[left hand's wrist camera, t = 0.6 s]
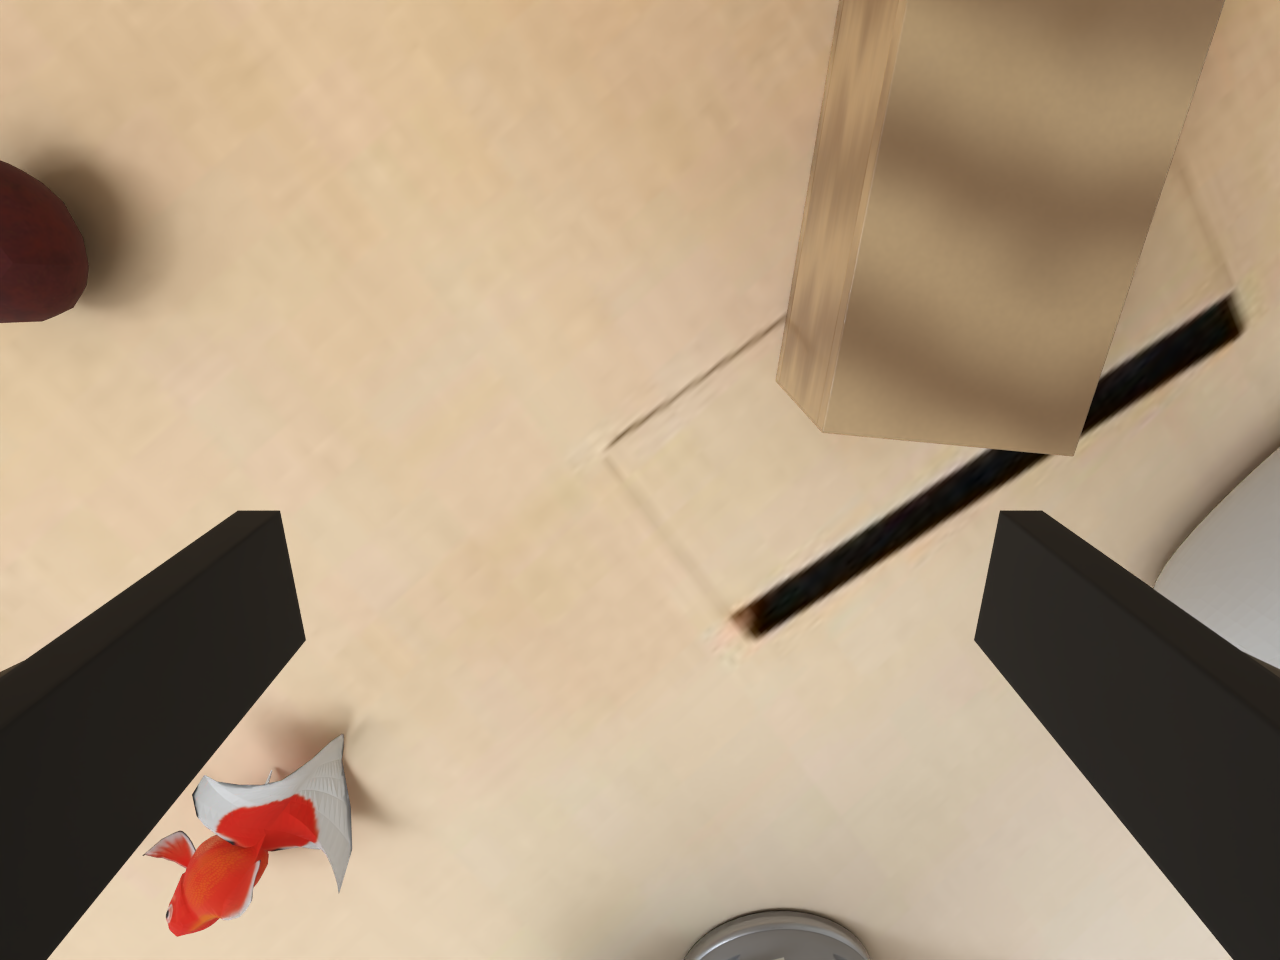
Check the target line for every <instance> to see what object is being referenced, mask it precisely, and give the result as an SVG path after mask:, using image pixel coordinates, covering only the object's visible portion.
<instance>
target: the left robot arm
mask: <svg viewBox="0 0 1280 960" xmlns="http://www.w3.org/2000/svg"><path fill="white" fill-rule="evenodd" d="M305 640H306V639H305V634H304V629H303V624H302V619H301V614H300V609H299V604H298V599H297V594H296V589H295V584H294V579H293V574H292V569H291V564H290V559H289V554H288V549H287V544H286V539H285V534H284V529H283V524H282V519H281V514H280V511H237V512H235V513H234V514H232V515H231V516H230V517H228V518H227V519H225V520H224V521H223V522H221V523H220V524H218V525H217V526H215V527H214V528H213V529H211V530H210V531H208V532H207V533H205V534H204V535H203V536H201V537H200V538H198V539H197V540H195V541H194V542H193V543H191V544H190V545H188V546H187V547H186V548H184V549H183V550H181V551H180V552H178V553H177V554H176V555H174V556H173V557H171V558H170V559H168V560H167V561H166V562H164V563H163V564H161V565H160V566H158V567H157V568H156V569H154V570H153V571H151V572H150V573H149V574H147V575H146V576H144V577H143V578H141V579H140V580H139V581H137V582H136V583H134V584H133V585H131V586H130V587H129V588H127V589H126V590H124V591H123V592H122V593H120V594H119V595H117V596H116V597H114V598H113V599H112V600H110V601H109V602H107V603H106V604H104V605H103V606H102V607H100V608H99V609H97V610H96V611H94V612H93V613H92V614H90V615H89V616H87V617H86V618H85V619H83V620H82V621H80V622H79V623H77V624H76V625H75V626H73V627H72V628H70V629H69V630H67V631H66V632H65V633H63V634H62V635H60V636H59V637H57V638H56V639H55V640H53V641H52V642H50V643H49V644H48V645H46V646H45V647H43V648H42V649H40V650H39V651H38V652H36V653H35V654H33V655H32V656H30V657H29V658H28V659H26V660H25V661H22V662H20V663H18V664H16V665H14V666H12V667H10V668H8V669H6V670H4V671H2V672H0V960H47V959H48V957H49V956H50V955H51V954H52V952H53V951H54V950H55V949H56V948H57V946H58V945H59V944H60V943H61V941H62V940H63V939H64V938H65V936H66V935H67V934H68V933H69V931H70V930H71V929H72V928H73V927H74V925H75V924H76V923H77V922H78V920H79V919H80V918H81V917H82V915H83V914H84V913H85V912H86V911H87V909H88V908H89V907H90V906H91V904H92V903H93V902H94V901H95V899H96V898H97V897H98V896H99V895H100V893H101V892H102V891H103V890H104V888H105V887H106V886H107V885H108V883H109V882H110V881H111V880H112V878H113V877H114V876H115V875H116V874H117V872H118V871H119V870H120V869H121V867H122V866H123V865H124V864H125V862H126V861H127V860H128V859H129V858H130V856H131V855H132V854H133V853H134V851H135V850H136V849H137V848H138V846H139V845H140V844H141V843H142V841H143V840H144V839H145V838H146V837H147V835H148V834H149V833H150V832H151V830H152V829H153V828H154V827H155V825H156V824H157V823H158V822H159V821H160V819H161V818H162V817H163V816H164V814H165V813H166V812H167V811H168V809H169V808H170V807H171V806H172V804H173V803H174V802H175V801H176V800H177V798H178V797H179V796H180V795H181V793H182V792H183V791H184V790H185V788H186V787H187V786H188V785H189V784H190V782H191V781H192V780H193V779H194V777H195V776H196V775H197V774H198V772H199V771H200V770H201V769H202V767H203V766H204V765H205V764H206V763H207V761H208V760H209V759H210V758H211V756H212V755H213V754H214V753H215V751H216V750H217V749H218V748H219V747H220V745H221V744H222V743H223V742H224V740H225V739H226V738H227V737H228V735H229V734H230V733H231V732H232V731H233V729H234V728H235V727H236V726H237V724H238V723H239V722H240V721H241V719H242V718H243V717H244V716H245V714H246V713H247V712H248V711H249V710H250V708H251V707H252V706H253V705H254V703H255V702H256V701H257V700H258V698H259V697H260V696H261V695H262V694H263V692H264V691H265V690H266V689H267V687H268V686H269V685H270V684H271V682H272V681H273V680H274V679H275V677H276V676H277V675H278V674H279V673H280V671H281V670H282V669H283V668H284V666H285V665H286V664H287V663H288V661H289V660H290V659H291V658H292V657H293V655H294V654H295V653H296V652H297V650H298V649H299V648H300V647H301V645H302V644H303V643H304V642H305ZM974 640H975V642H976V643H977V644H978V645H979V647H980V648H981V649H982V650H983V652H984V653H985V654H986V655H987V657H988V658H989V659H990V660H991V661H992V663H993V664H994V665H995V666H996V668H997V669H998V670H999V671H1000V673H1001V674H1002V675H1003V676H1004V677H1005V679H1006V680H1007V681H1008V682H1009V684H1010V685H1011V686H1012V687H1013V689H1014V690H1015V691H1016V692H1017V694H1018V695H1019V696H1020V697H1021V698H1022V700H1023V701H1024V702H1025V703H1026V705H1027V706H1028V707H1029V708H1030V710H1031V711H1032V712H1033V713H1034V714H1035V716H1036V717H1037V718H1038V719H1039V721H1040V722H1041V723H1042V724H1043V726H1044V727H1045V728H1046V729H1047V731H1048V732H1049V733H1050V734H1051V735H1052V737H1053V738H1054V739H1055V740H1056V742H1057V743H1058V744H1059V745H1060V747H1061V748H1062V749H1063V750H1064V751H1065V753H1066V754H1067V755H1068V756H1069V758H1070V759H1071V760H1072V761H1073V763H1074V764H1075V765H1076V766H1077V767H1078V769H1079V770H1080V771H1081V772H1082V774H1083V775H1084V776H1085V777H1086V779H1087V780H1088V781H1089V782H1090V784H1091V785H1092V786H1093V787H1094V788H1095V790H1096V791H1097V792H1098V793H1099V795H1100V796H1101V797H1102V798H1103V800H1104V801H1105V802H1106V803H1107V804H1108V806H1109V807H1110V808H1111V809H1112V811H1113V812H1114V813H1115V814H1116V816H1117V817H1118V818H1119V819H1120V821H1121V822H1122V823H1123V824H1124V825H1125V827H1126V828H1127V829H1128V830H1129V832H1130V833H1131V834H1132V835H1133V837H1134V838H1135V839H1136V840H1137V841H1138V843H1139V844H1140V845H1141V846H1142V848H1143V849H1144V850H1145V851H1146V853H1147V854H1148V855H1149V856H1150V858H1151V859H1152V860H1153V861H1154V862H1155V864H1156V865H1157V866H1158V867H1159V869H1160V870H1161V871H1162V872H1163V874H1164V875H1165V876H1166V877H1167V878H1168V880H1169V881H1170V882H1171V883H1172V885H1173V886H1174V887H1175V888H1176V890H1177V891H1178V892H1179V893H1180V895H1181V896H1182V897H1183V898H1184V899H1185V901H1186V902H1187V903H1188V904H1189V906H1190V907H1191V908H1192V909H1193V911H1194V912H1195V913H1196V914H1197V915H1198V917H1199V918H1200V919H1201V920H1202V922H1203V923H1204V924H1205V925H1206V927H1207V928H1208V929H1209V930H1210V931H1211V933H1212V934H1213V935H1214V936H1215V938H1216V939H1217V940H1218V941H1219V943H1220V944H1221V945H1222V946H1223V948H1224V949H1225V950H1226V951H1227V952H1228V954H1229V955H1230V956H1231V957H1232V959H1233V960H1280V669H1279V668H1277V667H1274V666H1272V665H1270V664H1268V663H1266V662H1264V661H1262V660H1260V659H1258V658H1255V657H1253V656H1251V655H1249V654H1247V653H1245V652H1243V651H1241V650H1240V649H1238V648H1237V647H1235V646H1234V645H1232V644H1231V643H1230V642H1228V641H1227V640H1225V639H1224V638H1223V637H1221V636H1220V635H1218V634H1217V633H1215V632H1214V631H1213V630H1211V629H1210V628H1208V627H1207V626H1205V625H1204V624H1203V623H1201V622H1200V621H1198V620H1197V619H1195V618H1194V617H1193V616H1191V615H1190V614H1188V613H1187V612H1186V611H1184V610H1183V609H1181V608H1180V607H1178V606H1177V605H1176V604H1174V603H1173V602H1171V601H1170V600H1168V599H1167V598H1166V597H1164V596H1163V595H1161V594H1160V593H1158V592H1157V591H1156V590H1154V589H1153V588H1151V587H1150V586H1149V585H1147V584H1146V583H1144V582H1143V581H1141V580H1140V579H1139V578H1137V577H1136V576H1134V575H1133V574H1131V573H1130V572H1129V571H1127V570H1126V569H1124V568H1123V567H1122V566H1120V565H1119V564H1117V563H1116V562H1114V561H1113V560H1112V559H1110V558H1109V557H1107V556H1106V555H1104V554H1103V553H1102V552H1100V551H1099V550H1097V549H1096V548H1094V547H1093V546H1092V545H1090V544H1089V543H1087V542H1086V541H1085V540H1083V539H1082V538H1080V537H1079V536H1077V535H1076V534H1075V533H1073V532H1072V531H1070V530H1069V529H1067V528H1066V527H1065V526H1063V525H1062V524H1060V523H1059V522H1057V521H1056V520H1055V519H1053V518H1052V517H1050V516H1049V515H1048V514H1046V513H1045V512H1043V511H1000V514H999V519H998V524H997V529H996V534H995V539H994V544H993V549H992V554H991V559H990V564H989V569H988V574H987V579H986V584H985V589H984V594H983V599H982V604H981V609H980V614H979V619H978V624H977V629H976V634H975V639H974ZM684 960H870V958H869V955H868V953H867V951H866V949H865V947H864V946H863V945H862V943H861V942H860V941H859V940H858V939H857V937H856V936H854V935H853V934H852V933H851V932H850V931H848V930H847V929H845V928H844V927H842V926H841V925H839V924H837V923H835V922H833V921H831V920H828V919H825V918H823V917H820V916H816V915H812V914H807V913H802V912H792V911H772V912H762V913H756V914H751V915H747V916H743V917H740V918H737V919H734V920H732V921H729V922H727V923H725V924H723V925H721V926H719V927H717V928H715V929H714V930H712V931H710V932H709V933H707V934H706V935H705V936H704V937H702V938H701V939H700V940H699V941H698V942H697V943H696V944H695V945H694V946H693V947H692V948H691V950H690V951H689V952H688V954H687V955H686V957H685V959H684Z"/></svg>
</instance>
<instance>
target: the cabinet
mask: <svg viewBox="0 0 1280 960" xmlns="http://www.w3.org/2000/svg"><path fill="white" fill-rule="evenodd" d="M1224 2H1225V0H839V6H838V12H837V18H836V24H835V30H834V36H833V42H832V48H831V54H830V60H829V65H828V71H827V77H826V83H825V89H824V95H823V101H822V107H821V113H820V119H819V125H818V131H817V137H816V143H815V149H814V155H813V161H812V167H811V173H810V179H809V185H808V191H807V197H806V203H805V209H804V215H803V221H802V227H801V233H800V239H799V245H798V251H797V257H796V263H795V269H794V275H793V281H792V287H791V293H790V299H789V305H788V310H787V316H786V322H785V328H784V334H783V340H782V346H781V352H780V358H779V364H778V370H777V376H776V382H777V383H778V384H779V385H780V386H781V387H782V389H783V390H784V391H785V392H786V393H787V394H788V395H789V396H790V397H791V399H792V400H793V401H794V402H795V403H796V404H797V405H798V406H799V407H800V408H801V410H802V411H803V412H804V413H805V414H806V415H807V416H808V417H809V418H810V419H811V421H812V422H813V423H814V424H815V425H816V426H817V427H818V428H819V429H820V431H821V432H822V433H831V434H841V435H852V436H862V437H873V438H884V439H894V440H905V441H916V442H926V443H937V444H947V445H958V446H969V447H979V448H990V449H1001V450H1011V451H1022V452H1032V453H1043V454H1054V455H1064V456H1074V453H1075V450H1076V447H1077V444H1078V441H1079V438H1080V435H1081V432H1082V429H1083V426H1084V423H1085V420H1086V417H1087V414H1088V411H1089V408H1090V405H1091V402H1092V399H1093V396H1094V393H1095V390H1096V387H1097V384H1098V381H1099V378H1100V375H1101V372H1102V369H1103V366H1104V363H1105V360H1106V357H1107V354H1108V351H1109V348H1110V345H1111V342H1112V339H1113V336H1114V333H1115V330H1116V327H1117V324H1118V321H1119V318H1120V315H1121V312H1122V309H1123V306H1124V303H1125V300H1126V297H1127V294H1128V291H1129V288H1130V285H1131V282H1132V279H1133V276H1134V273H1135V270H1136V267H1137V264H1138V261H1139V258H1140V255H1141V252H1142V249H1143V245H1144V242H1145V239H1146V236H1147V233H1148V230H1149V227H1150V224H1151V221H1152V218H1153V215H1154V212H1155V209H1156V206H1157V203H1158V200H1159V197H1160V194H1161V191H1162V188H1163V185H1164V182H1165V179H1166V176H1167V173H1168V170H1169V167H1170V164H1171V161H1172V158H1173V155H1174V152H1175V149H1176V146H1177V143H1178V140H1179V137H1180V134H1181V131H1182V128H1183V125H1184V122H1185V119H1186V116H1187V113H1188V110H1189V107H1190V104H1191V101H1192V98H1193V95H1194V92H1195V89H1196V86H1197V83H1198V80H1199V77H1200V74H1201V71H1202V68H1203V65H1204V62H1205V59H1206V56H1207V53H1208V50H1209V47H1210V44H1211V41H1212V38H1213V35H1214V32H1215V29H1216V26H1217V23H1218V20H1219V17H1220V14H1221V11H1222V8H1223V5H1224Z"/></svg>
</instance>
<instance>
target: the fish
mask: <svg viewBox="0 0 1280 960" xmlns="http://www.w3.org/2000/svg"><path fill="white" fill-rule="evenodd" d="M343 746H344V735H343V734H341V735H340V736H338V737H337V738H335V739H334V740H332V741H331V742H330V743H329V744H327V745H326V746H325V747H324V748H323V749H322V750H321V751H320V752H319V753H318V754H317V755H316V756H315V757H313V758H312V759H311V760H310V761H309V762H307V763H306V764H304V765H303V766H302V767H300V768H299V769H298V770H296V771H295V772H293V773H292V774H290V775H289V776H287V777H286V778H285V779H283V780H282V781H277V782H273V783H269V781H270V777H271V774H272V770H271V771H270V774H269V776H268V779H267V781H266V783H265V784H264V785H236V784H230V783H223V782H217V781H215V780H213V779H211V778H209V777H207V776H206V775H204V776H203V778H202V780H201V781H200V783H199V784H198V786H197V788H196V789H195V791H194V793H193V794H192V796H193V801H194V805H195V810H196V815H197V817H198V818H199V819H200V821H201V822H202V823H203V824H204V825H205V826H206V827H207V828H208V829H210V830H211V831H212V832H214V833H215V834H217V835H215V836H212V837H211V838H209V839H207V840H206V841H204V842H203V843H202V844H201V845H200V846H199V847H198V848H197V850H195V848H194V845H193V843H192V842H191V840H190V838H189V837H188V836H187V835H186V834H185V833H184V832H183V831H178V832H175V833H173V834H171V835H169V836H167V837H165V838H163V839H161V840H160V841H159V842H158V843H157V844H156V845H154V846H153V847H152V848H151V849H150V850H149V851H147V852H146V853H145V854H144V855H148V856H152V857H156V858H164V859H167V860H170V861H174V862H176V863H177V864H179V865H181V866H183V867H184V868H186V872H185V873H184V874H182V876H181V878H180V881H179V883H178V886H177V888H176V890H175V893H174V895H173V897H172V900H171V902H170V904H169V907H168V910H167V913H166V920H167V922H168V925H169V929H170V931H171V932H172V933H174V934H175V935H176V936H177V937H178V936H182V935H185V934H190V933H194V932H197V931H201V930H204V929H206V928H207V927H209V926H211V925H212V924H214V923H215V922H216V921H217V920H218V919H219V918H221V919H223V920H231V919H234V918H238V917H240V916H241V915H242V914H243V913H244V912H245V911H246V909H247V908H248V906H249V904H250V903H251V901H252V895H253V888H254V886H255V885H256V884H257V883H258V881H259V879H260V878H261V876H262V874H263V872H264V870H265V868H266V866H267V864H268V856H269V854H268V851H277V850H283V849H290V848H296V847H305V848H311V849H321V850H322V851H323V852H324V853H325V854H326V856H327V858H328V860H329V862H330V864H331V866H332V869H333V871H334V874H335V878H336V881H337V885H338V891H339V892H340V888H341V885H342V882H343V878H344V875H345V872H346V868H347V865H348V861H349V858H350V855H351V851H352V832H351V806H350V801H349V796H348V790H347V785H346V779H345V774H344V768H343V762H342V755H343ZM144 855H143V856H144Z"/></svg>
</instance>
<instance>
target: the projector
mask: <svg viewBox="0 0 1280 960" xmlns="http://www.w3.org/2000/svg"><path fill="white" fill-rule="evenodd" d="M1153 589H1154V590H1156V591H1157V592H1158V593H1160V594H1161V595H1163V596H1164V597H1166V598H1167V599H1168V600H1170V601H1171V602H1173V603H1174V604H1176V605H1177V606H1178V607H1180V608H1181V609H1183V610H1184V611H1186V612H1187V613H1188V614H1190V615H1191V616H1193V617H1194V618H1195V619H1197V620H1198V621H1200V622H1201V623H1203V624H1204V625H1205V626H1207V627H1208V628H1210V629H1211V630H1213V631H1214V632H1215V633H1217V634H1218V635H1220V636H1221V637H1223V638H1224V639H1225V640H1227V641H1228V642H1230V643H1231V644H1232V645H1234V646H1235V647H1237V648H1238V649H1240V650H1241V651H1243V652H1245V653H1247V654H1249V655H1251V656H1253V657H1255V658H1258V659H1260V660H1262V661H1264V662H1266V663H1268V664H1270V665H1272V666H1274V667H1277V668H1279V669H1280V447H1279V448H1278V449H1277V450H1276V451H1275V452H1273V453H1272V454H1271V455H1270V456H1269V457H1268V458H1267V459H1265V460H1264V461H1263V462H1262V463H1261V464H1260V465H1259V466H1258V467H1257V468H1255V469H1254V470H1253V471H1252V472H1251V473H1250V474H1249V475H1248V476H1247V477H1246V478H1245V479H1244V480H1243V481H1242V482H1241V483H1239V484H1238V485H1237V486H1236V487H1235V488H1234V489H1233V490H1232V491H1231V492H1230V493H1229V494H1228V495H1227V496H1226V497H1225V498H1224V499H1223V500H1222V501H1221V502H1220V503H1219V504H1218V505H1217V506H1216V507H1215V508H1214V509H1213V510H1212V511H1211V512H1210V513H1209V514H1208V515H1207V516H1206V517H1205V519H1204V520H1203V521H1202V522H1201V523H1200V524H1199V525H1198V526H1197V527H1196V528H1195V529H1194V530H1193V531H1192V532H1191V534H1190V535H1189V536H1188V537H1187V538H1186V539H1185V541H1184V542H1183V543H1182V544H1181V545H1180V546H1179V548H1178V549H1177V550H1176V551H1175V553H1174V554H1173V555H1172V557H1171V558H1170V559H1169V561H1168V562H1167V563H1166V565H1165V566H1164V568H1163V570H1162V572H1161V573H1160V575H1159V577H1158V578H1157V581H1156V583H1155V586H1154V588H1153Z"/></svg>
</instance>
